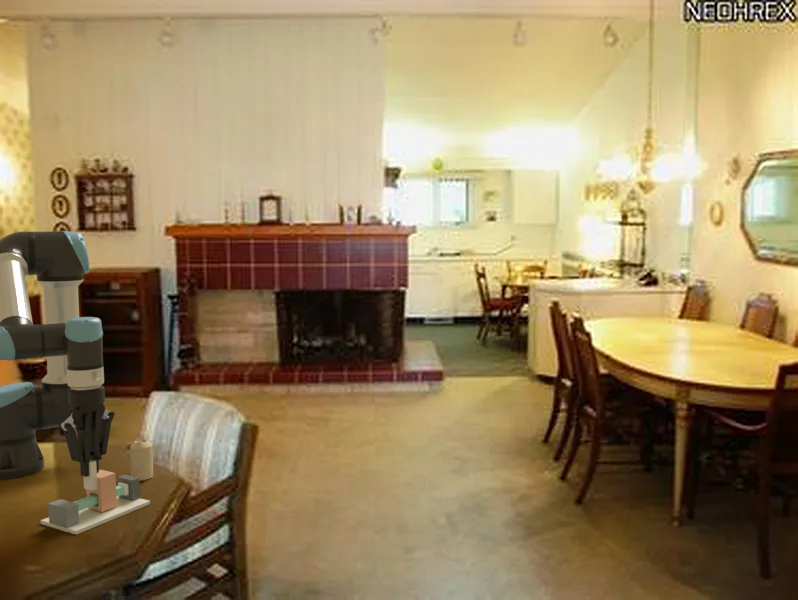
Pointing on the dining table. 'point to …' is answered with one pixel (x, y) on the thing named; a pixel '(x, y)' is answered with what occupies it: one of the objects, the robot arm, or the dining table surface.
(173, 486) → the dining table surface
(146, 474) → the candle
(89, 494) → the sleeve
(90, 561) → the dining table surface
